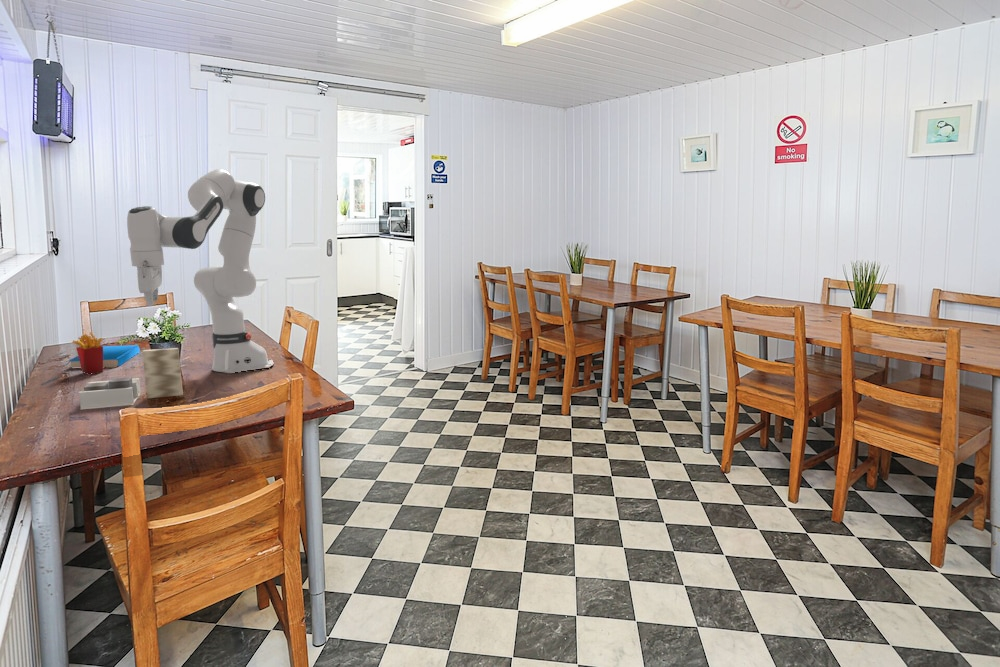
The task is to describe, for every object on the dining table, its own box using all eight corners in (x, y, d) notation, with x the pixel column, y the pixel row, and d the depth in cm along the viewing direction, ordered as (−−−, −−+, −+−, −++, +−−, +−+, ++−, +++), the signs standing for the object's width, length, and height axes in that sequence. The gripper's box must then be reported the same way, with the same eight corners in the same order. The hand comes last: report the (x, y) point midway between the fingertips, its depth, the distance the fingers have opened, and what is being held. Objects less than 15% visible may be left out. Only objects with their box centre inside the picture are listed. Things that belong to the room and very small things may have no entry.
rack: (141, 396, 205) (139, 377, 204) (133, 409, 192) (131, 389, 191) (92, 400, 201) (89, 381, 199) (80, 414, 188) (77, 393, 186)
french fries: (107, 371, 236) (102, 333, 233) (83, 376, 229) (77, 336, 226) (95, 368, 241) (90, 330, 238) (71, 373, 234) (66, 334, 231)
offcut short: (110, 400, 196) (107, 382, 195) (107, 404, 192) (104, 385, 191) (89, 402, 194) (87, 383, 193) (86, 406, 191) (83, 387, 189)
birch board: (183, 395, 204) (178, 347, 201) (182, 397, 202) (177, 349, 199) (148, 398, 201) (143, 350, 197) (147, 400, 199) (142, 351, 196)
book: (69, 360, 239) (94, 345, 263) (70, 371, 240) (95, 355, 264) (118, 358, 243) (139, 343, 267) (120, 368, 244) (140, 353, 268)
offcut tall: (134, 398, 198) (131, 377, 197) (131, 402, 195) (129, 380, 193) (113, 400, 196) (111, 378, 195) (110, 403, 193) (108, 382, 191)
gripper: (153, 262, 186) (159, 308, 189) (163, 256, 205) (168, 298, 208) (129, 263, 184) (135, 309, 187) (141, 257, 203) (146, 299, 206)
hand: (152, 303), depth 197 cm, fingers open, 8 cm apart
